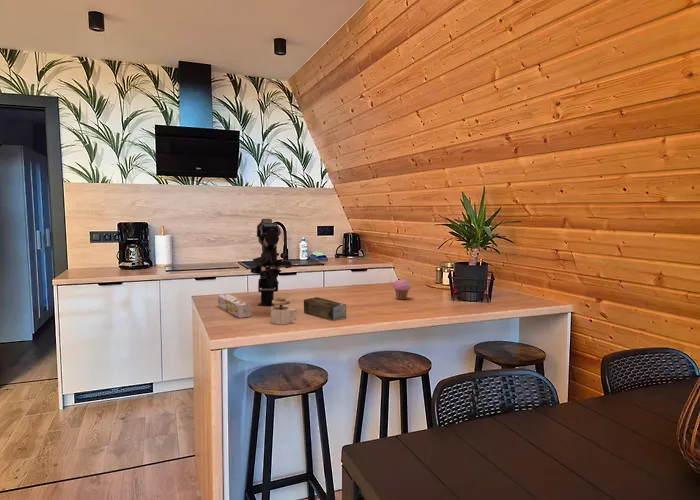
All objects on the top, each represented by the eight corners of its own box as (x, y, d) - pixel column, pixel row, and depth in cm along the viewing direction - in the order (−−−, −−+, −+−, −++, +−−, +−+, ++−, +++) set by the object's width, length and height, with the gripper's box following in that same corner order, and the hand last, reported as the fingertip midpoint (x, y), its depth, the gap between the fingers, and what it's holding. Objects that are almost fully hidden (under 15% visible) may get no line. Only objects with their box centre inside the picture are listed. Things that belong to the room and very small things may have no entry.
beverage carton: (332, 321, 182) (333, 305, 182) (302, 313, 196) (302, 298, 195) (347, 318, 188) (347, 302, 187) (316, 310, 201) (316, 296, 201)
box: (217, 306, 206) (217, 294, 206) (229, 305, 209) (229, 293, 209) (238, 319, 183) (238, 305, 183) (251, 317, 186) (251, 304, 186)
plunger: (277, 312, 183) (277, 296, 183) (293, 314, 181) (293, 297, 180) (268, 316, 177) (268, 299, 176) (284, 318, 174) (285, 300, 174)
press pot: (268, 324, 176) (268, 309, 175) (274, 319, 183) (274, 305, 183) (293, 325, 174) (293, 311, 174) (298, 320, 182) (298, 306, 181)
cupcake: (411, 300, 225) (411, 280, 224) (393, 300, 225) (394, 280, 224) (408, 297, 234) (409, 278, 233) (392, 297, 234) (392, 277, 233)
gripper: (240, 252, 192) (241, 288, 189) (272, 243, 182) (274, 281, 179) (259, 256, 201) (260, 291, 198) (291, 248, 192) (293, 284, 188)
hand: (271, 287), depth 190 cm, fingers closed
